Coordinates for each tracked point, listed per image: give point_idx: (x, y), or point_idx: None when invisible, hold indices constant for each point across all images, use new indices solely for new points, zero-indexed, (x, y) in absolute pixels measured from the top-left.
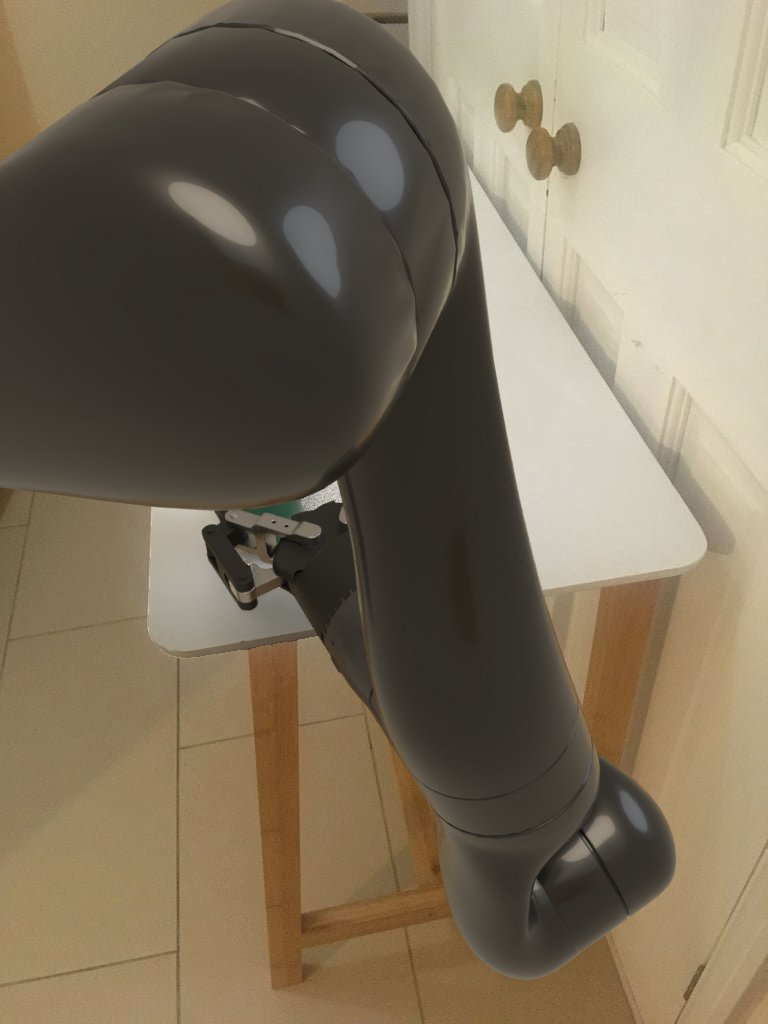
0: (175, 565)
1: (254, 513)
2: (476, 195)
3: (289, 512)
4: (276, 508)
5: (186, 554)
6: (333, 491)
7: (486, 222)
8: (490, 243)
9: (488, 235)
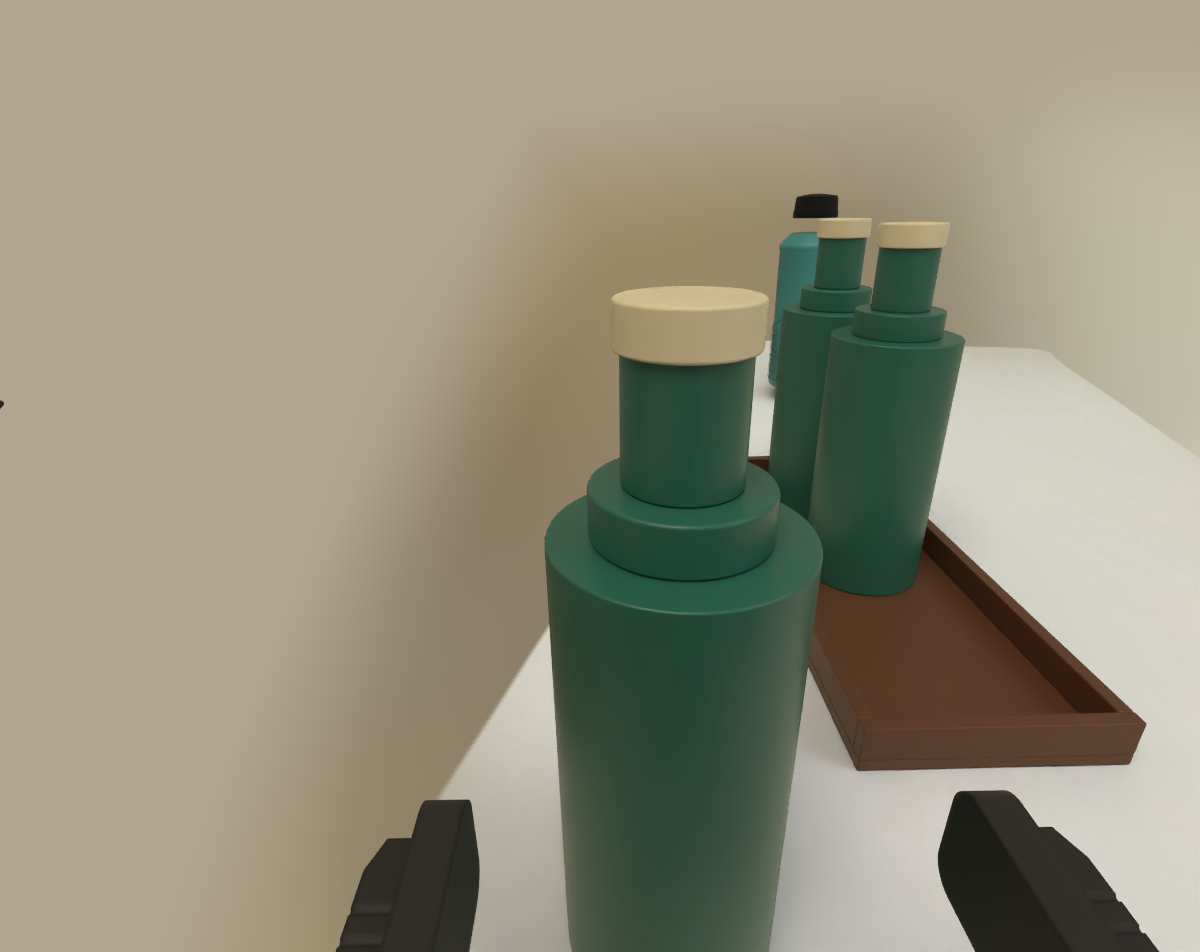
0: None
1: (614, 905)
2: (1128, 411)
3: (728, 940)
4: (687, 921)
5: None
6: (869, 863)
7: (1158, 439)
8: (1177, 462)
9: (1168, 453)
